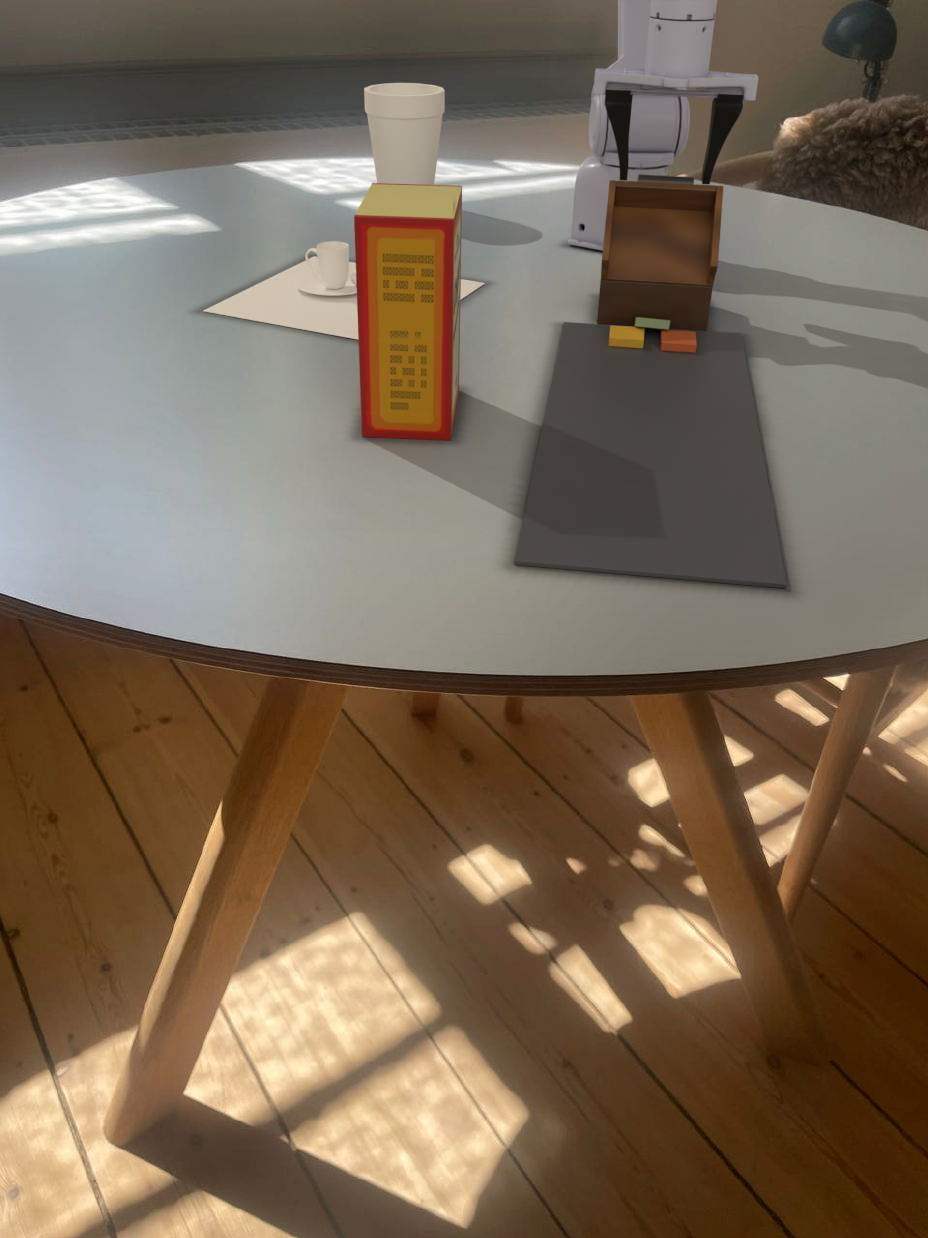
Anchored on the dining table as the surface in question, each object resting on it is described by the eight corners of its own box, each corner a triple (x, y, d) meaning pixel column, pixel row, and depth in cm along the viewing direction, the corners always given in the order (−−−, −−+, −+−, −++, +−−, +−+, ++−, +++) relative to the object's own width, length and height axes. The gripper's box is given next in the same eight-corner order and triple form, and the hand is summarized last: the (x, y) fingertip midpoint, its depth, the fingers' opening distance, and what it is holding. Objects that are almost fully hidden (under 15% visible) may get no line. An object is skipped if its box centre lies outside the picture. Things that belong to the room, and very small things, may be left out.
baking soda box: (377, 386, 90) (372, 177, 81) (459, 389, 89) (462, 180, 81) (362, 436, 82) (353, 210, 73) (450, 440, 82) (453, 213, 73)
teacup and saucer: (397, 283, 112) (396, 241, 110) (357, 306, 106) (356, 262, 104) (321, 270, 115) (319, 230, 113) (279, 292, 109) (275, 250, 107)
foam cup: (366, 195, 141) (362, 82, 134) (438, 194, 142) (439, 82, 135) (370, 215, 134) (367, 96, 126) (447, 213, 135) (448, 95, 127)
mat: (563, 325, 103) (563, 321, 102) (740, 336, 101) (741, 333, 101) (514, 564, 67) (514, 560, 67) (785, 588, 65) (786, 584, 65)
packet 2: (695, 331, 98) (694, 340, 99) (661, 329, 99) (660, 338, 99) (696, 344, 96) (695, 352, 96) (661, 341, 96) (660, 350, 97)
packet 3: (668, 329, 98) (670, 320, 98) (634, 326, 99) (635, 316, 98) (669, 329, 101) (670, 320, 101) (636, 326, 102) (637, 316, 101)
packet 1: (644, 327, 99) (643, 335, 100) (610, 324, 100) (609, 333, 100) (644, 339, 97) (643, 348, 97) (609, 337, 97) (608, 346, 97)
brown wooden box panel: (706, 330, 102) (713, 286, 100) (596, 323, 103) (600, 280, 101) (703, 302, 109) (709, 260, 106) (600, 296, 110) (604, 254, 107)
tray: (713, 286, 100) (717, 266, 97) (600, 280, 101) (601, 259, 98) (720, 186, 102) (725, 163, 99) (610, 181, 103) (611, 158, 100)
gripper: (597, 19, 96) (585, 185, 103) (769, 25, 94) (745, 193, 102) (600, 11, 102) (589, 169, 109) (763, 16, 100) (740, 176, 108)
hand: (664, 179), depth 106 cm, fingers open, 7 cm apart
